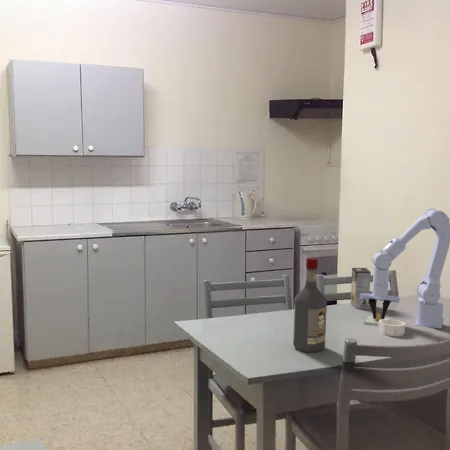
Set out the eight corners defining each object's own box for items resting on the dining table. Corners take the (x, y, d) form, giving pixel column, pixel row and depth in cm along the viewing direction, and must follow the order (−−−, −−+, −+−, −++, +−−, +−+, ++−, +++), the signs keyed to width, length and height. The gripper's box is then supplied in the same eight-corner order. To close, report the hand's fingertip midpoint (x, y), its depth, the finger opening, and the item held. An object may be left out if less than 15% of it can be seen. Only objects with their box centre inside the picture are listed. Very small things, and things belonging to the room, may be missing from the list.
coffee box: (349, 303, 248) (351, 267, 246) (364, 303, 248) (366, 267, 246) (354, 309, 239) (355, 271, 237) (369, 309, 239) (371, 271, 237)
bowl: (405, 331, 209) (406, 320, 208) (402, 338, 201) (403, 327, 200) (380, 328, 212) (380, 317, 212) (376, 334, 204) (377, 323, 204)
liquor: (289, 347, 189) (292, 258, 185) (306, 341, 195) (309, 255, 192) (311, 354, 182) (314, 262, 179) (328, 348, 189) (331, 258, 185)
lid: (392, 320, 221) (392, 310, 221) (389, 326, 213) (389, 316, 212) (368, 317, 225) (369, 308, 224) (364, 323, 216) (365, 313, 216)
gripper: (359, 284, 216) (357, 319, 218) (399, 288, 211) (397, 324, 212) (362, 280, 223) (361, 314, 224) (401, 284, 217) (399, 319, 219)
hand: (378, 318), depth 219 cm, fingers closed on lid, 3 cm apart
